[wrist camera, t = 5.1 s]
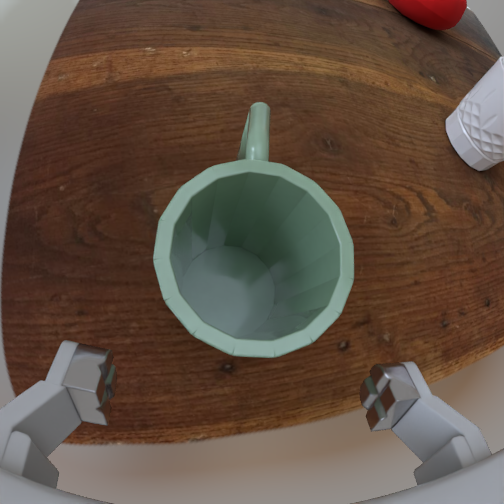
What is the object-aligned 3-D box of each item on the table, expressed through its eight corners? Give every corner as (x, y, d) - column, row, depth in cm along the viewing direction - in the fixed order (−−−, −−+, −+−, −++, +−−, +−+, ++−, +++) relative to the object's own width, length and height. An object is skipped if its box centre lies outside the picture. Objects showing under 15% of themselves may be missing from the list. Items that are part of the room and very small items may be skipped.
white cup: (429, 104, 26) (486, 44, 16) (475, 119, 27) (528, 73, 18) (456, 172, 24) (531, 117, 14) (499, 181, 25) (564, 139, 16)
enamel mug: (277, 349, 17) (352, 358, 9) (168, 341, 16) (143, 346, 8) (284, 185, 20) (341, 92, 12) (189, 173, 19) (192, 66, 11)
